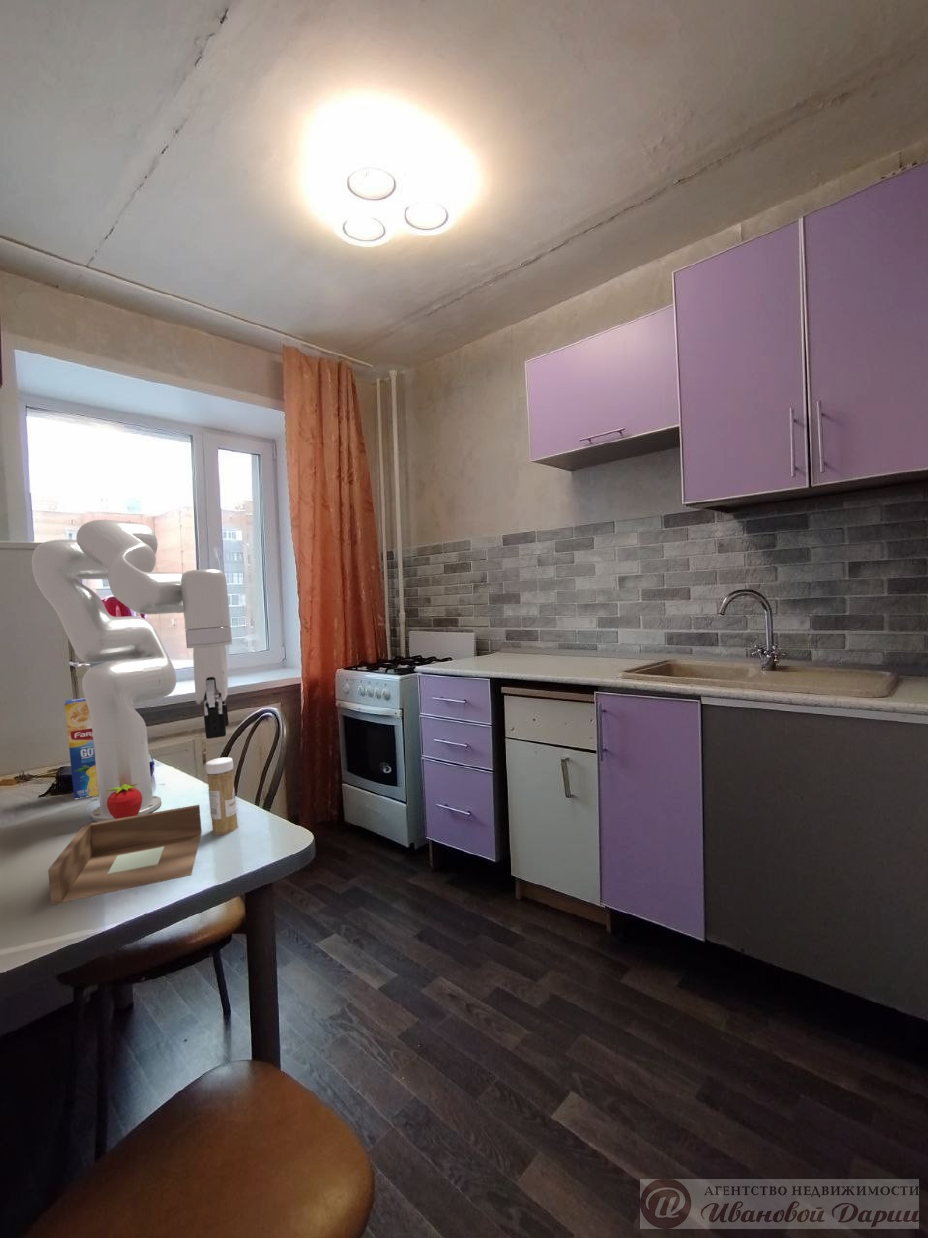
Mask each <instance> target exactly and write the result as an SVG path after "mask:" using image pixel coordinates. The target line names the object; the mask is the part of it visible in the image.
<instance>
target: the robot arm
mask: <svg viewBox="0 0 928 1238" xmlns="http://www.w3.org/2000/svg"><path fill="white" fill-rule="evenodd" d="M154 532H155V531H153V529H151V528H150V527H149V526H148V525H146V524H144V523H142V522H134V521H123V520H113V519H112V520H111V519H94V520H90V521H88V522H85V523H84V524H82V525H81V526H80V527H79V529H78V530H77V533H76V538H75V539H53V540H47V541H45V542H42V543H40V544H39V545H37V546H36V548H35V549H34V550H33V553H32V556H31V567H32V568H31V569H32V573H33V578H34V581H35V583H36V586H37V587H38V588H39V590H40V592H41V593H42V595H43V597H44V598H45V599H46V600H47V602H48V603H50V604H49V605H51V606H52V608H53V609H54V610H55V611H56V614H57V616H58V618H59V620H60V623H61V624H62V627H63V629H64V631H65V634H66V636H67V637H68V640H69V642H70V644H71V645H70V646H71V647H72V649H73V651H74V652H75V654H76V656H77V658H79V659H80V660H81V661H82V662H85V663H87V664H96V665H93V666H91V667H90V668H89V669H88V670H86V672H85V673H84V675H83V677H82V681H81V685H82V693H83V695H84V698H85V699H86V702H87V705H88V709H89V713H90V717H91V723H92V731H93V741H94V751H95V761H96V772H97V783H98V793H99V795H98V800H99V801H98V802H99V803H98V804H99V807H97V808H95V809H94V810H93V811H92V812H91V813H90V814H91V816H90V817H91V819H92V821H93V822H95V823H96V822H102V821H107V820H113V819H115V818H114V817H113V816H112V815H111V814H110V812H109V810H108V807H107V799H108V797H109V796H110V794H112V793H113V792H115V791H106V790H109V789H113V788H117V787H118V788H120V787H121V786H122V785H123V784H126V785H133V784H137V785H135V786H133V787H136V788H135V789H138V790H139V791H140V792H141V795H142V798H143V799H142V805H141V809H140V811H139V813H138V815H142V814H148V813H153V811H155V810H157V809H158V808H160V806H161V805H162V798H161V797H160V796H157V795H153V786H152V777H151V766H150V765H151V764H150V763H151V762H150V754H149V743H148V732H147V725H146V722H145V720H144V719H143V716H141V715H140V713H139V712H138V711H137V710H136V709H135V708H134V707H133V706H134V705H136V704H139V703H143V702H144V703H145V702H149V701H154V700H158V699H159V700H160V699H163V698H165V697H168V696H169V695H170V694H172V693H173V692H174V690H175V689H176V685H177V674H176V671H175V667H174V665H173V663H172V660H171V659H170V656H169V655H168V652H167V651H166V648H165V646H164V644H163V642H162V639H161V638H160V636H159V634H158V632H157V631H156V628H155V626H153V624H152V623H151V622H150V621H148V620H147V619H146V618H144V617H141V616H132V615H130V616H129V615H128V616H125V615H124V616H114V615H111V614H110V613H109V611H108V610H107V609H106V606H105V604H104V602H103V600H102V598H101V597H100V596H99V595H98V594H97V593H96V592H95V591H93V590H92V589H91V588H90V587H88V586H87V585H84V584H83V583H81V582H80V581H79V580H107V581H108V587H109V589H110V591H111V594H112V595H113V597H114V598H115V599H116V600H117V601H119V602H120V603H121V604H123V605H124V606H125V607H126V608H128V609H130V610H131V611H133V612H135V613H138V614H142V615H147V616H149V615H160V614H161V615H163V614H181V613H182V614H183V620H184V630H185V631H184V632H185V633H184V634H185V640H186V641H185V642H186V644H185V645H186V648H187V649H192V650H193V651H192V656H193V657H192V658H193V659H192V661H193V663H192V664H193V665H192V667H193V678H194V690H195V693H194V694H195V703H196V704H197V705H201V703H202V702H203V703H204V705H203V707H204V715H203V720H204V730H205V732H204V733H205V739H208V740H209V739H210V740H211V739H215V738H222V737H223V738H224V737H226V735H227V728H226V727H228V726H229V722H230V721H229V715H228V714H229V713H228V705H227V704H226V699H227V697H228V695H229V694H228V689H229V682H228V681H229V680H228V679H229V678H228V676H229V675H228V659H227V651H226V649H227V648H226V646H229V645H233V637H232V636H233V635H232V627H231V616H230V606H229V596H228V583H227V577H226V574H225V572H223V571H222V570H220V569H216V568H215V569H214V568H213V569H209V568H206V569H205V568H204V569H192V570H187V571H185V572H167V571H166V572H160V571H159V572H157V571H156V572H155V571H154V569H155V566H156V560H157V559H156V558H157V557H156V553H157V552H158V543H159V542H158V538H157V535H156V534H155V533H154ZM153 571H154V572H153ZM97 663H98V664H97ZM118 778H119V779H120V780H119V779H118ZM121 780H122V781H123V782H122V781H121Z"/></svg>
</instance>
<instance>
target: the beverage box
mask: <svg viewBox="0 0 928 1238" xmlns="http://www.w3.org/2000/svg"><path fill="white" fill-rule="evenodd" d="M64 709H65V716H66V718H65V719H66V727H67V728H66V729H67V739H68V749H69V758H70V760H69V761H70V769H71V770H70V772H71V781H72V788H73V789H72V791H73V799H74V798H80V797H86V796H92V797H96V796H99V793H98V783H97V772H96V761H95V751H94V741H93V731H92V723H91V717H90V713H89V709H88V705H87V702H86V699H85V697H84V698H76V699H75V698H74V699H70V700H69V699H67V700H66V701H65V703H64Z"/></svg>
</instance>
